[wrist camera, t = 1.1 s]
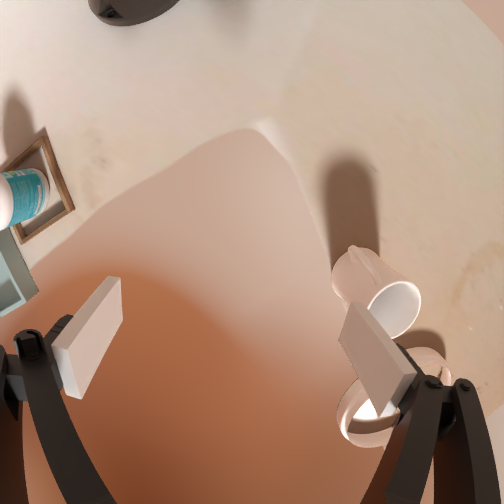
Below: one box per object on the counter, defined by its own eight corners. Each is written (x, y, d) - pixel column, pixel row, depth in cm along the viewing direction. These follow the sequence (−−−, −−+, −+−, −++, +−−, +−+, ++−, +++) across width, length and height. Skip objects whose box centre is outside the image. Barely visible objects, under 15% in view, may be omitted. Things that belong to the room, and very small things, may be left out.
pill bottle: (45, 160, 33) (-14, 167, 20) (56, 207, 36) (-1, 230, 23) (14, 177, 33) (-44, 190, 20) (24, 220, 36) (-31, 245, 23)
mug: (313, 244, 40) (344, 278, 29) (364, 217, 40) (410, 240, 28) (341, 308, 44) (372, 353, 33) (386, 283, 43) (427, 319, 32)
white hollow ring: (350, 357, 48) (360, 376, 43) (456, 336, 50) (470, 349, 45) (326, 442, 56) (331, 459, 51) (419, 418, 58) (428, 431, 53)
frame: (0, 177, 33) (-5, 178, 31) (47, 136, 32) (42, 136, 31) (26, 242, 37) (21, 245, 35) (75, 209, 36) (70, 211, 35)
